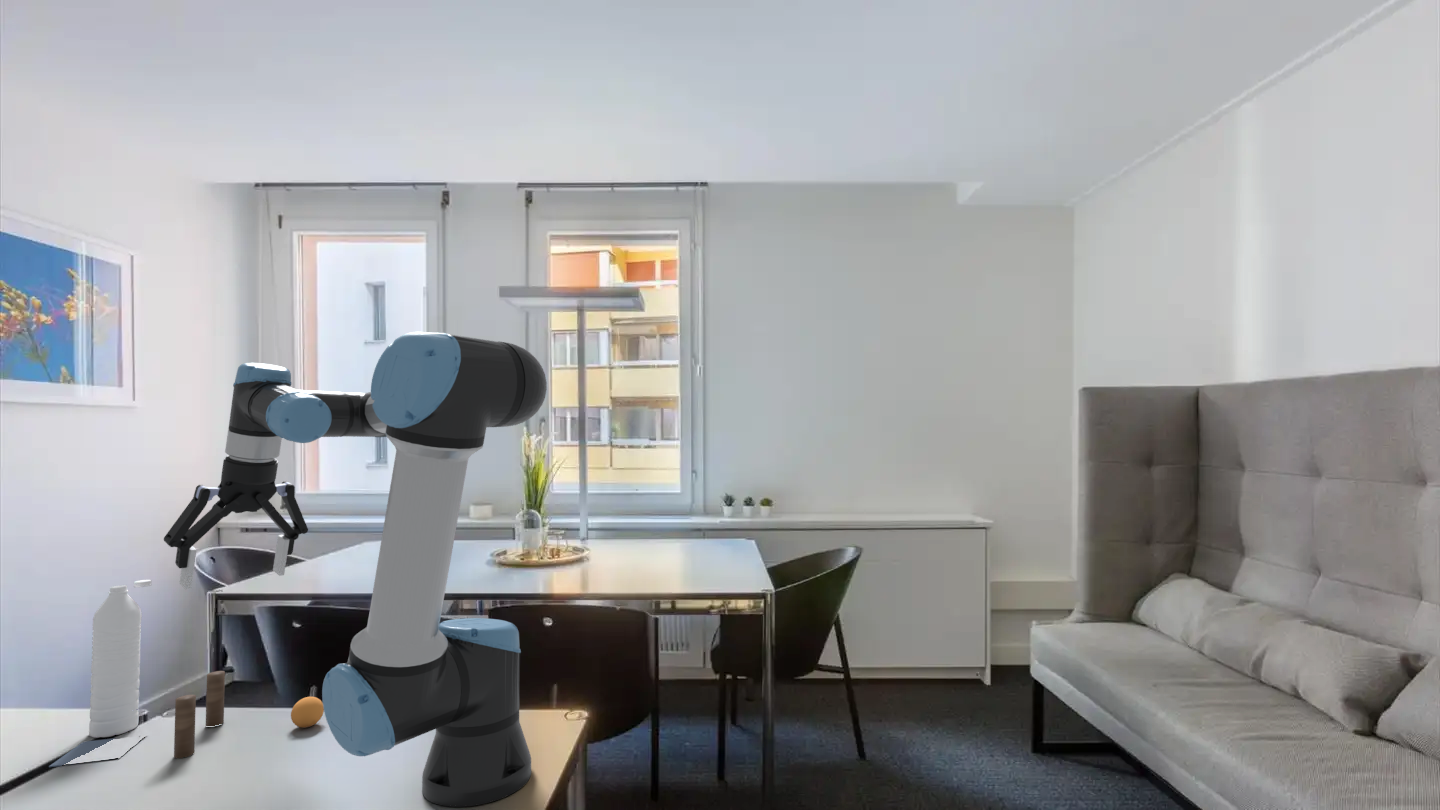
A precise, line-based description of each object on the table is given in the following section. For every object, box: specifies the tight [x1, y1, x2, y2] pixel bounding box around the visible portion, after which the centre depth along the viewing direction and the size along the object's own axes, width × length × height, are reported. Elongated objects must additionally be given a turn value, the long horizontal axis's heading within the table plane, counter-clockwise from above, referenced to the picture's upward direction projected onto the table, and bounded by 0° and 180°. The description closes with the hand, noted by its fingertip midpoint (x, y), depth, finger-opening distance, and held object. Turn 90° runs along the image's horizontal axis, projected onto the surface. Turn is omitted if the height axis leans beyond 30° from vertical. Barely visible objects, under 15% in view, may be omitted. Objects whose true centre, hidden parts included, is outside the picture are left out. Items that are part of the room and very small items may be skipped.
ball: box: [290, 696, 324, 729], centre depth 121 cm, size 5×5×5 cm
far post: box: [205, 670, 226, 727], centre depth 122 cm, size 3×3×9 cm
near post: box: [173, 694, 197, 759], centre depth 111 cm, size 3×3×9 cm
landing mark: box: [48, 737, 116, 768], centre depth 112 cm, size 9×9×1 cm
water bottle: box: [88, 579, 152, 739], centre depth 122 cm, size 9×6×25 cm
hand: (234, 579), depth 116 cm, fingers open, 13 cm apart
